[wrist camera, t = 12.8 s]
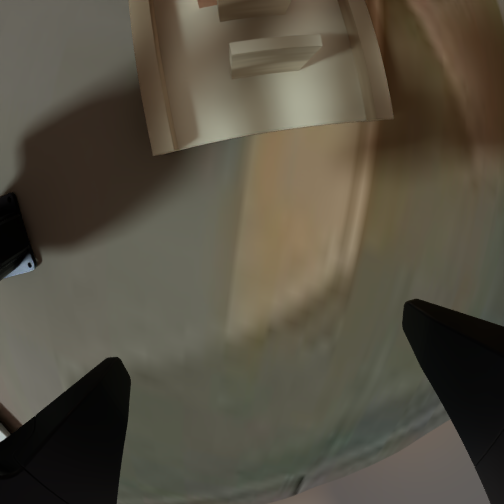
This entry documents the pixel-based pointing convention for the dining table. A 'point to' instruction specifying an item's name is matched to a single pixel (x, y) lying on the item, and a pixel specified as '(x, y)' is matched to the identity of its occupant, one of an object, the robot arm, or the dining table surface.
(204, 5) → the pink clay brick
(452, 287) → the dining table surface
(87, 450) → the robot arm
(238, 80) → the dish rack
